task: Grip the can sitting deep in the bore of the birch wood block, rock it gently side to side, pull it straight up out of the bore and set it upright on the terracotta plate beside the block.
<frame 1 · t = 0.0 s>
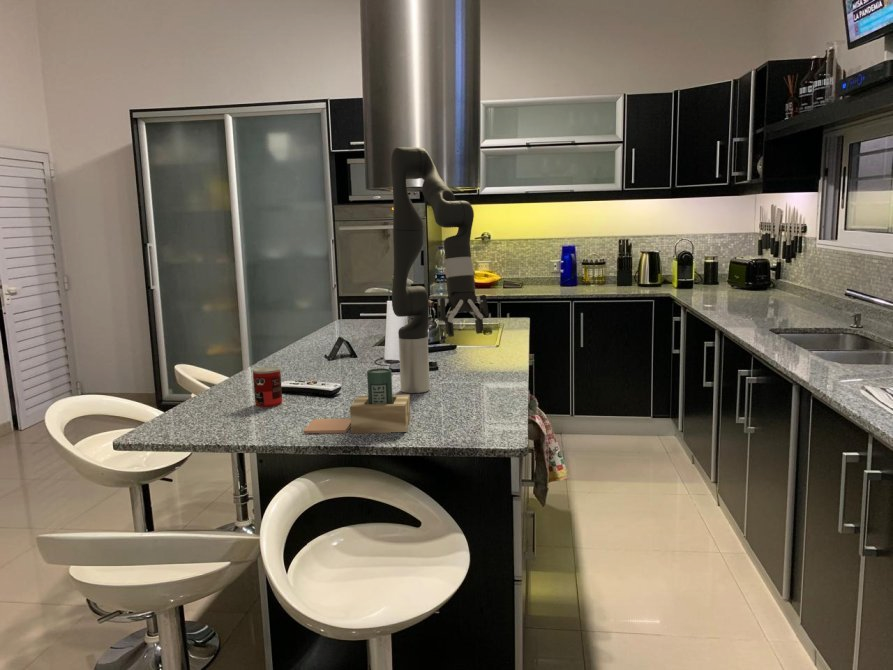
hand: (465, 335, 191), 22 cm above the counter, tool pointing down, fingers open, 8 cm apart
can: (381, 427, 186), resting in bore block
plate: (329, 427, 187), on the counter
bore block: (381, 426, 186), on the counter
canned food: (269, 405, 214), on the counter
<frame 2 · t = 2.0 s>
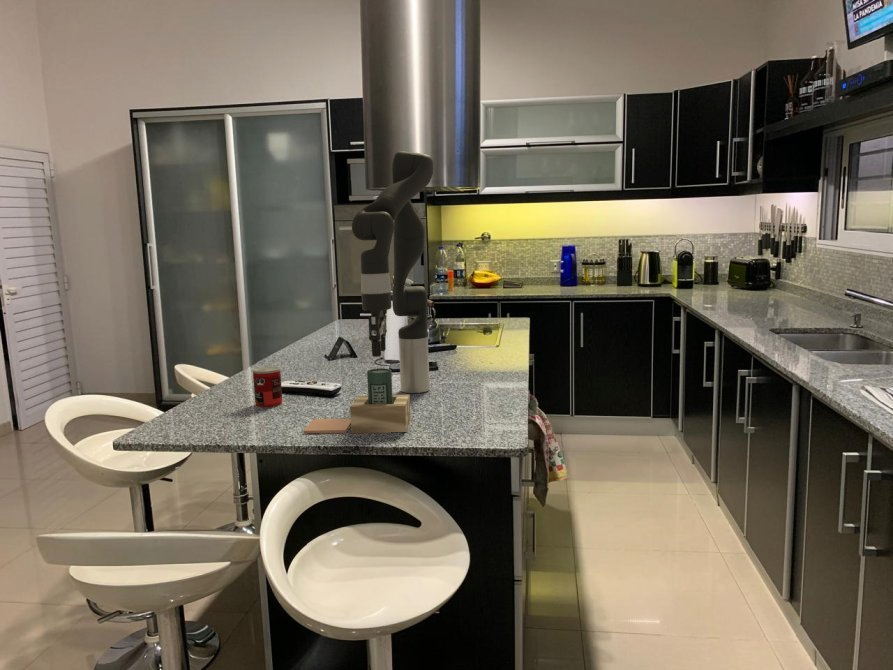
hand: (379, 353, 183), 20 cm above the counter, tool pointing down, fingers open, 8 cm apart
nothing on the counter moved.
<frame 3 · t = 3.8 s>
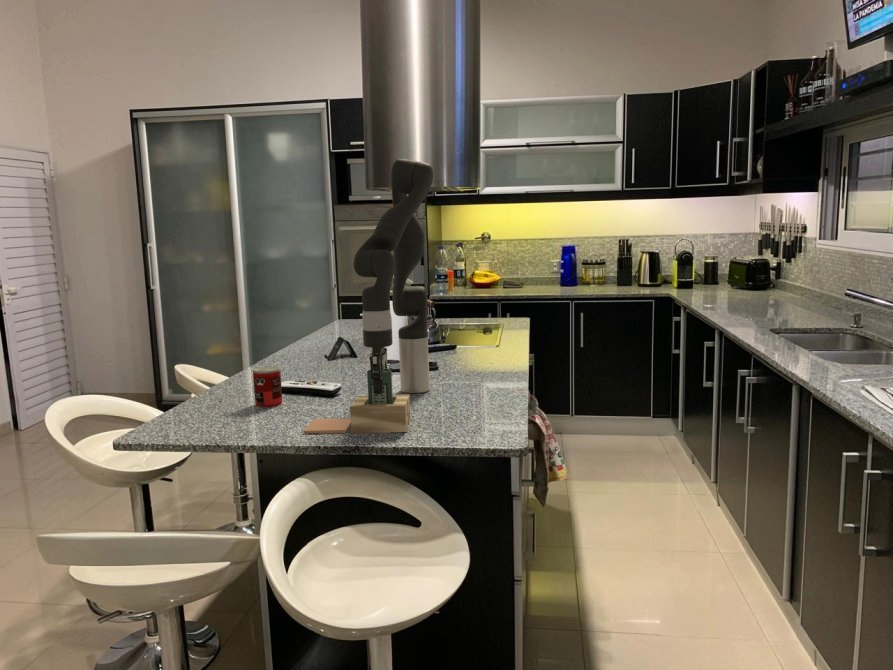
hand: (380, 390, 185), 10 cm above the counter, tool pointing down, fingers closed on can, 6 cm apart
can: (381, 427, 186), resting in bore block, touching gripper
everything else where it was.
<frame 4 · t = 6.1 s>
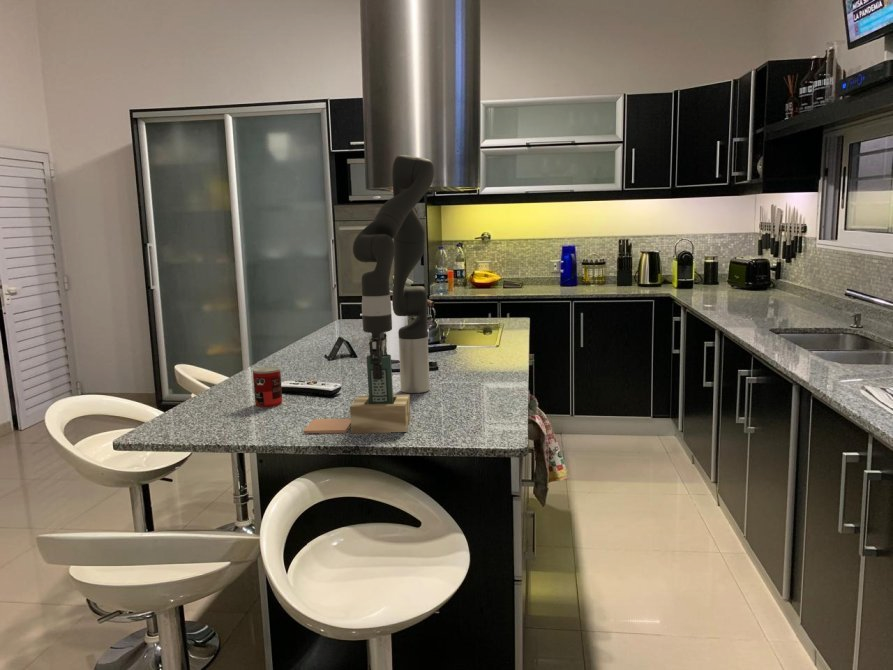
hand: (379, 376, 184), 13 cm above the counter, tool pointing down, fingers closed on can, 6 cm apart
can: (381, 413, 186), point 4 cm above the counter, touching gripper
everything else where it was.
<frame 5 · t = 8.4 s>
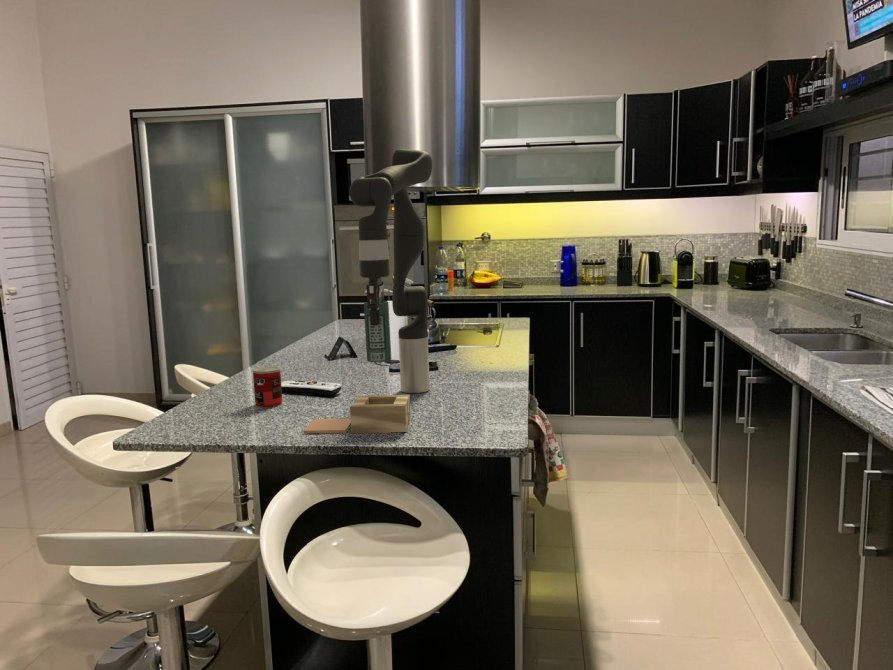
hand: (377, 323, 182), 27 cm above the counter, tool pointing down, fingers closed on can, 6 cm apart
can: (379, 360, 183), point 18 cm above the counter, touching gripper
everything else where it was.
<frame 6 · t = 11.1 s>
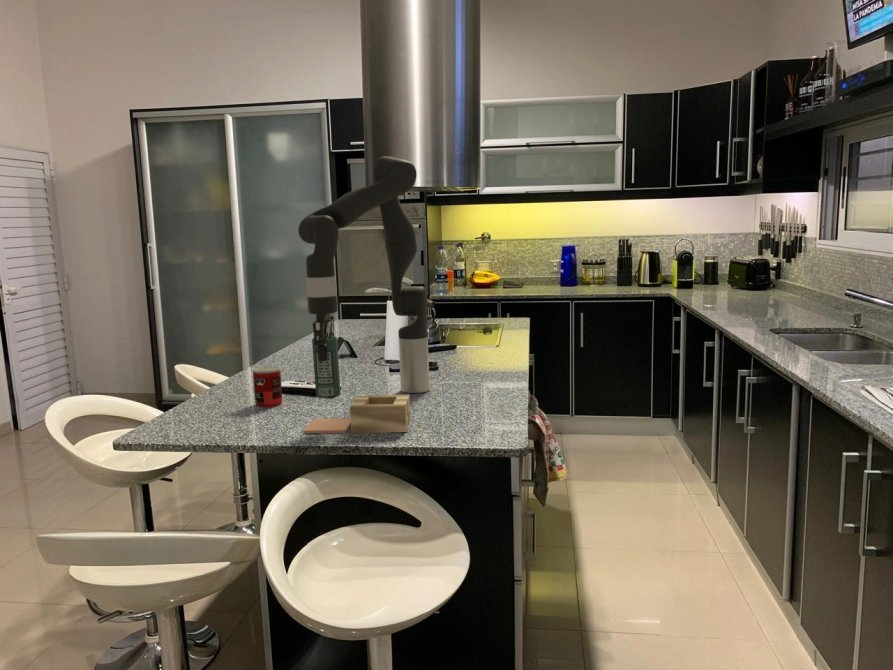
hand: (325, 358, 184), 19 cm above the counter, tool pointing down, fingers closed on can, 6 cm apart
can: (328, 395, 185), point 9 cm above the counter, touching gripper
everything else where it was.
when the fingers open (11 cm above the counter, at t = 13.4 s): can moves 1 cm, resting on plate.
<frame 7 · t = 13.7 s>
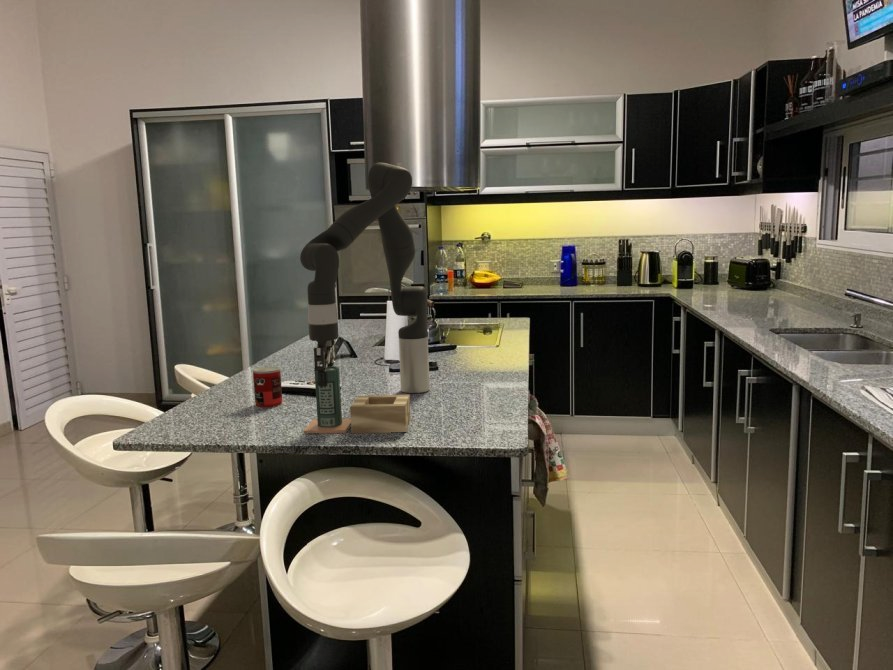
hand: (326, 382, 185), 12 cm above the counter, tool pointing down, fingers open, 8 cm apart
can: (330, 424, 187), point 1 cm above the counter, touching plate
everything else where it was.
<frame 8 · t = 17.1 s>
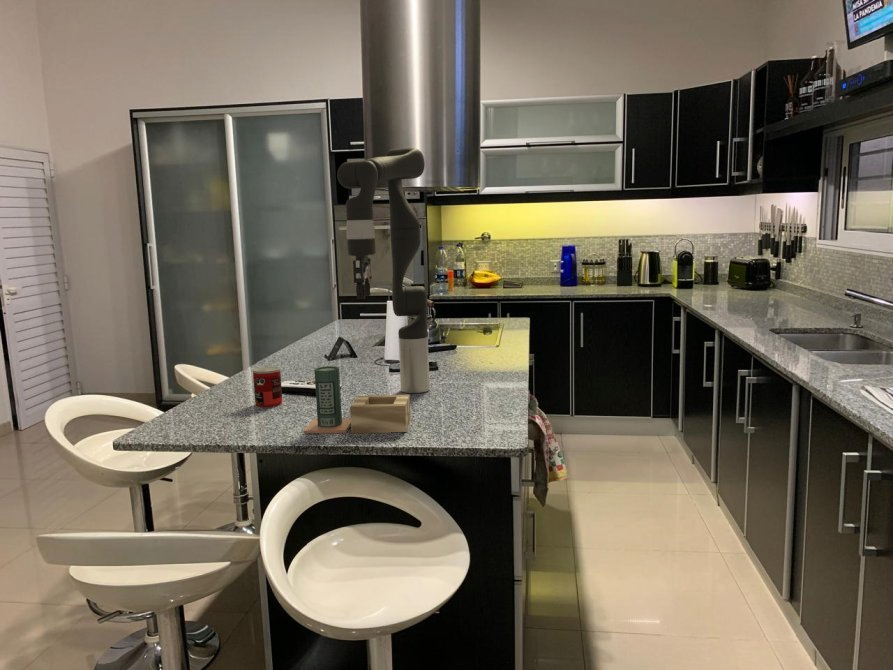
hand: (363, 297, 192), 33 cm above the counter, tool pointing down, fingers open, 8 cm apart
nothing on the counter moved.
at the end: can inside the target area on the plate (0.3 cm from its centre), point 0.6 cm above the plate's base; can tilted 0°; the gripper is holding nothing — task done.
